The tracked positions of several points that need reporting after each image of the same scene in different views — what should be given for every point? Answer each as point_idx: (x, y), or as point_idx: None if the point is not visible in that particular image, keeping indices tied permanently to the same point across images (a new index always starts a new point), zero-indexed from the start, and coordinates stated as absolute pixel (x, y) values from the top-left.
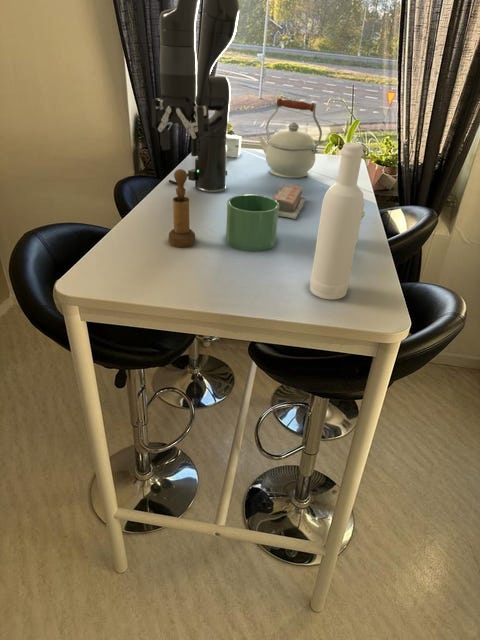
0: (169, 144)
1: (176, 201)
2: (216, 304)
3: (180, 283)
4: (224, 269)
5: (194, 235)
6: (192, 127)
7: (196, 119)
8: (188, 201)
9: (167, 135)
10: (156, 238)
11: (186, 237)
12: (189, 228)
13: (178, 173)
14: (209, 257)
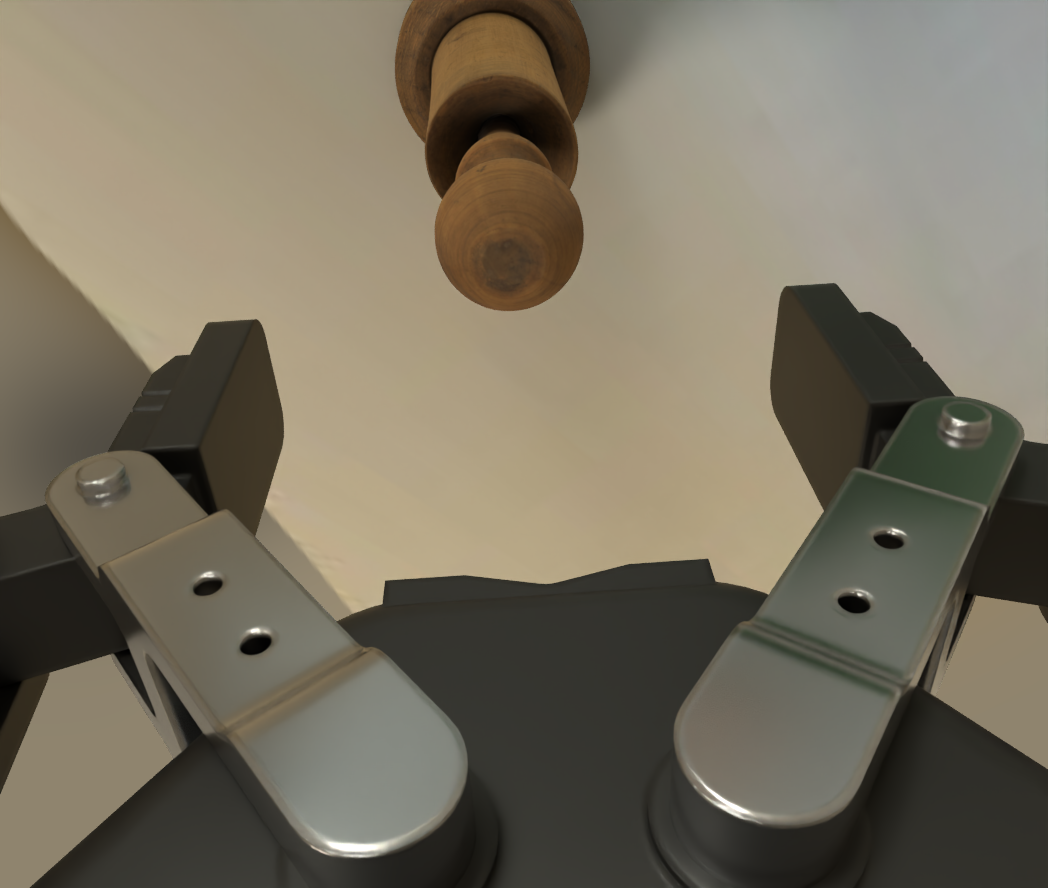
0: (248, 353)
1: (455, 160)
2: None
3: None
4: (935, 184)
5: (581, 27)
6: (942, 673)
7: (956, 573)
8: (574, 130)
9: (224, 468)
10: (316, 135)
11: (570, 112)
12: (544, 49)
13: (531, 305)
14: (780, 118)
